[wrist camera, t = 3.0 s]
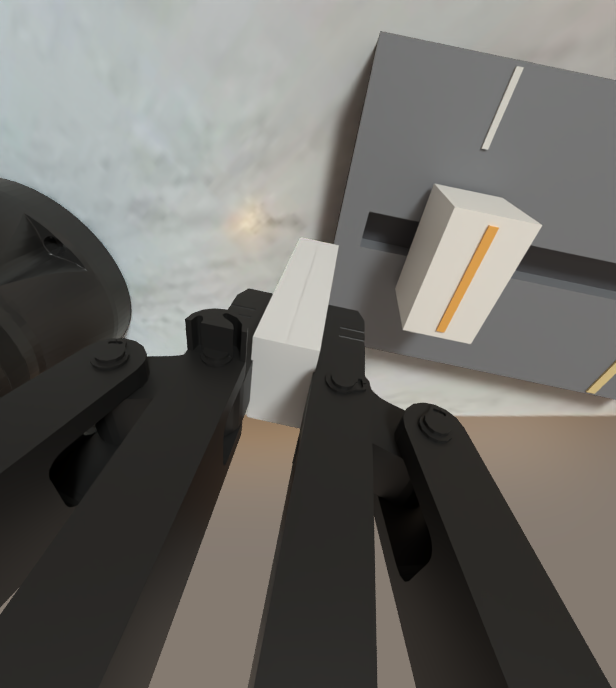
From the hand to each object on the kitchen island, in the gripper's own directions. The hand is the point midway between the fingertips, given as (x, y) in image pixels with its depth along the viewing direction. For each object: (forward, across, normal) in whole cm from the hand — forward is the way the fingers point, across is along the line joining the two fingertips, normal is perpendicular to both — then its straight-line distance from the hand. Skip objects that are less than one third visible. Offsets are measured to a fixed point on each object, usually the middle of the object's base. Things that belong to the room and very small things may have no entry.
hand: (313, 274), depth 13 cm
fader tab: (+8, +7, 0) cm, 10 cm away
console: (+10, +14, 0) cm, 17 cm away
